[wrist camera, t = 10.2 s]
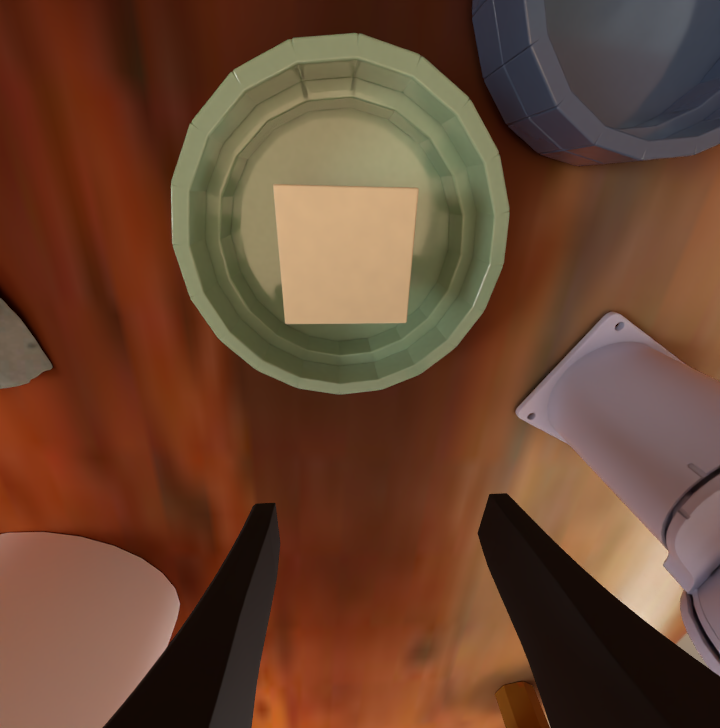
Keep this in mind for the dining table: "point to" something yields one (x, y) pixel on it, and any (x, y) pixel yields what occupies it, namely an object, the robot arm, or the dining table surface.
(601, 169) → the dining table surface
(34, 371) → the stone
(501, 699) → the decorative tree
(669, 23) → the slate bowl
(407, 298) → the block
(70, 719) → the cylinder
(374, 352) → the sage bowl
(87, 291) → the dining table surface
